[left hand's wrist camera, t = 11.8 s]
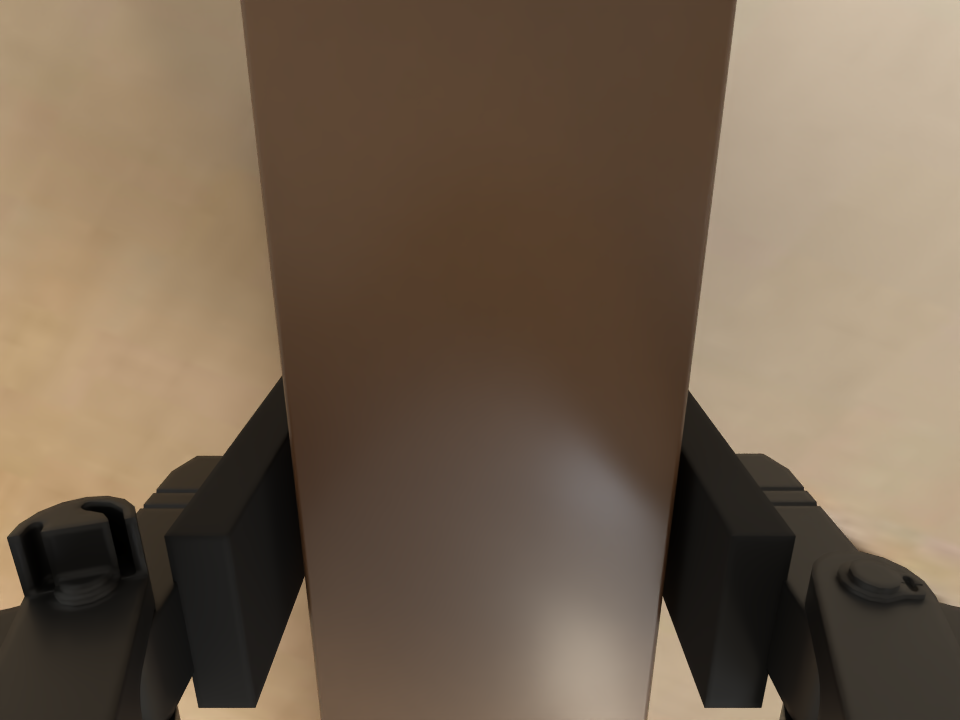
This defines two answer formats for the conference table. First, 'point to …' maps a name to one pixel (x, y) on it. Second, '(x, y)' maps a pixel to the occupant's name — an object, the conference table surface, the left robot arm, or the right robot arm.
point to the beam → (486, 335)
